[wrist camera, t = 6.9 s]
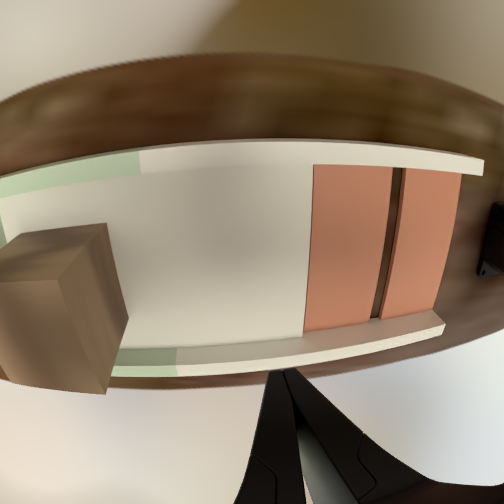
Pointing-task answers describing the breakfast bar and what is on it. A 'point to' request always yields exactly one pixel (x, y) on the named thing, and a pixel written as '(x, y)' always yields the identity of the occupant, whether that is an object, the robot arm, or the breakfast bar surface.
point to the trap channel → (255, 246)
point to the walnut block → (61, 309)
